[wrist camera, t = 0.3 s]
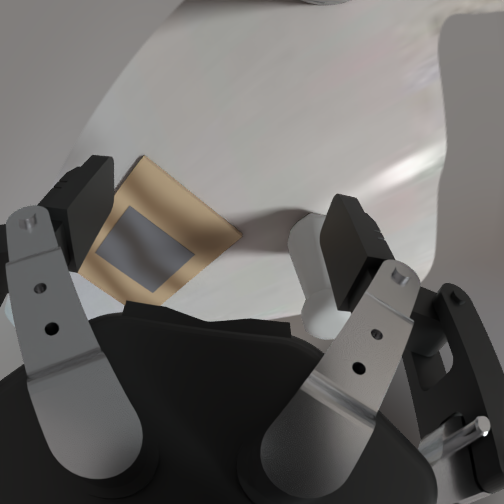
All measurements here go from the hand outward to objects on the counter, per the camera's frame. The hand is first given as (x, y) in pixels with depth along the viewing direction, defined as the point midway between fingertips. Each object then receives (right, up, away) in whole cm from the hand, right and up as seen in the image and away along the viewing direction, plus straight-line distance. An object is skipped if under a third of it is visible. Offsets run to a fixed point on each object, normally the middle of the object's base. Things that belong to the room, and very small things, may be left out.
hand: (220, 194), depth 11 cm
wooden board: (-11, -2, +25) cm, 28 cm away
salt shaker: (+8, 0, +23) cm, 24 cm away
